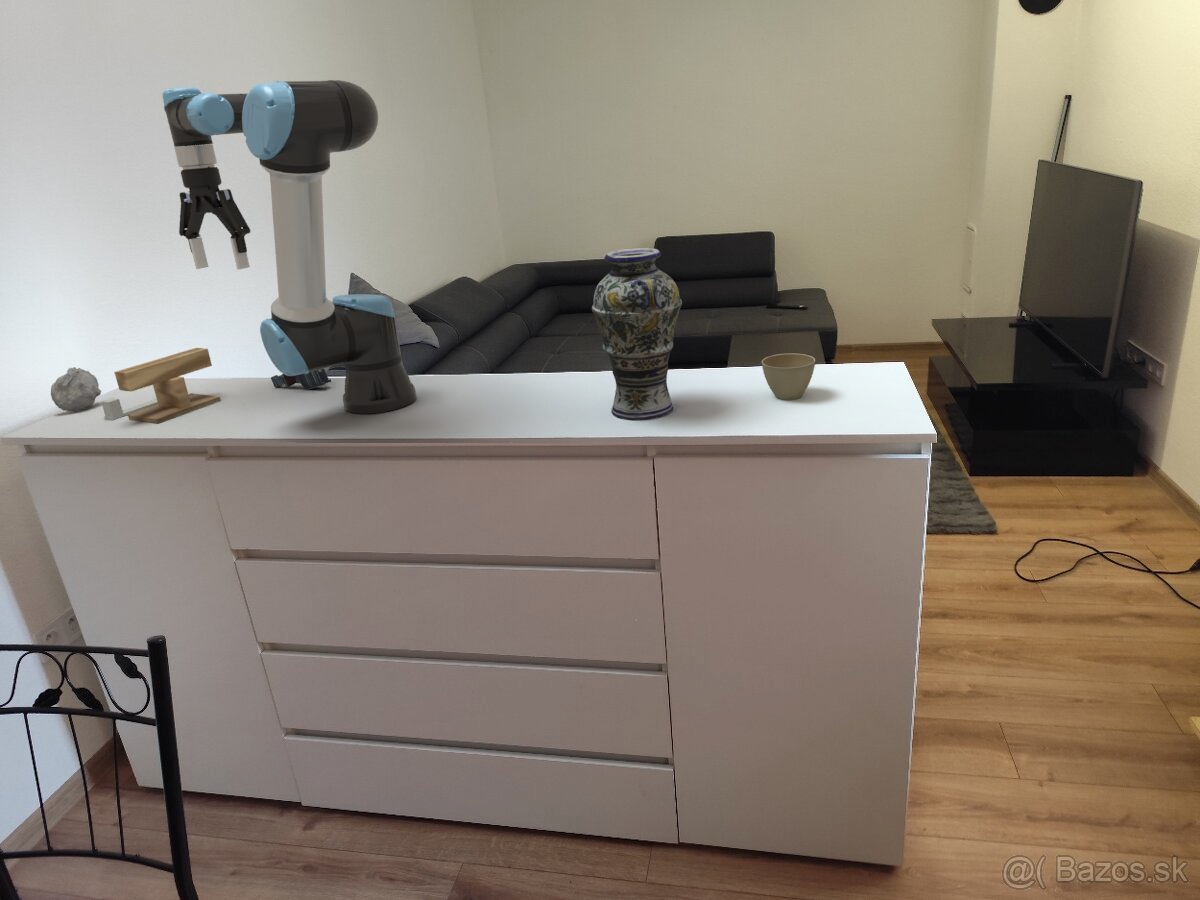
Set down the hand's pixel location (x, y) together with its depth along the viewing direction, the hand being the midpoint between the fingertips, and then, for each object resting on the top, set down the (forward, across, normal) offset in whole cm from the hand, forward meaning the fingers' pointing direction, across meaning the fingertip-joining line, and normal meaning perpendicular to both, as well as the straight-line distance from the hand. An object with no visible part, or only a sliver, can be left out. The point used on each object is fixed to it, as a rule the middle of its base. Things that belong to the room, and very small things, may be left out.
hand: (222, 268), depth 189 cm
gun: (+29, -10, -6) cm, 31 cm away
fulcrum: (+29, +7, +15) cm, 33 cm away
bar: (+21, +7, +15) cm, 27 cm away
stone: (+29, +32, +21) cm, 48 cm away
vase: (+29, -95, -13) cm, 100 cm away
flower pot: (+29, -119, -28) cm, 126 cm away
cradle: (+29, +17, +15) cm, 37 cm away
